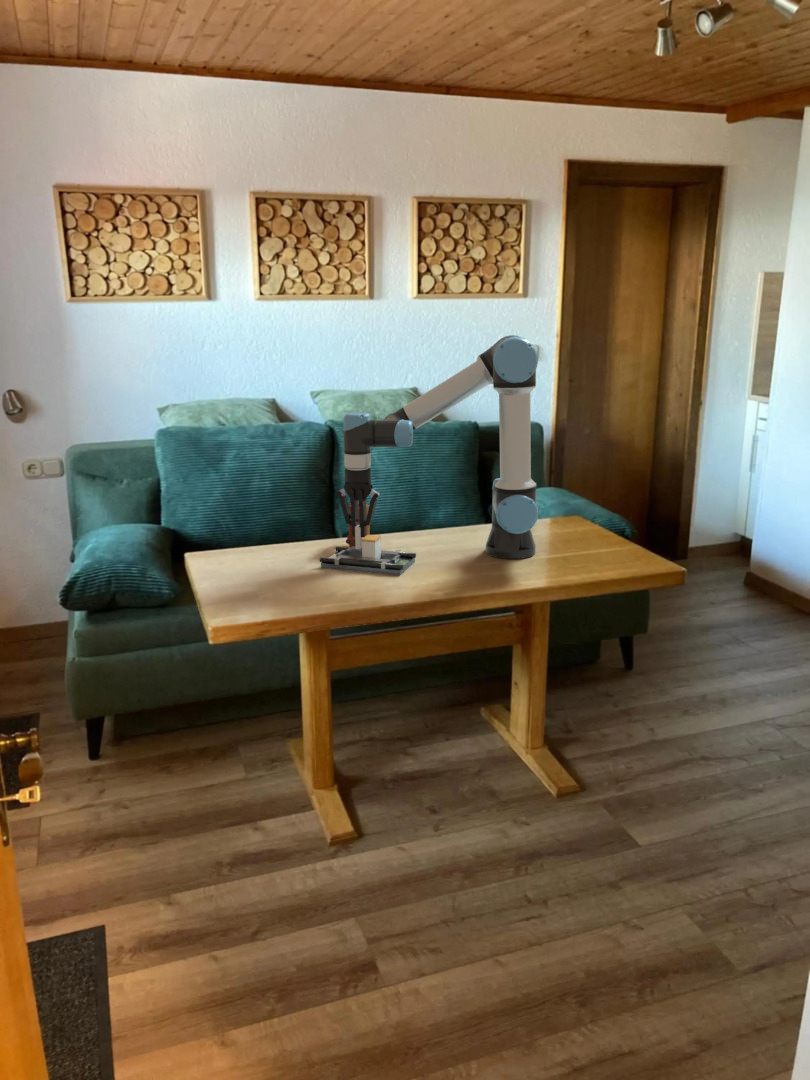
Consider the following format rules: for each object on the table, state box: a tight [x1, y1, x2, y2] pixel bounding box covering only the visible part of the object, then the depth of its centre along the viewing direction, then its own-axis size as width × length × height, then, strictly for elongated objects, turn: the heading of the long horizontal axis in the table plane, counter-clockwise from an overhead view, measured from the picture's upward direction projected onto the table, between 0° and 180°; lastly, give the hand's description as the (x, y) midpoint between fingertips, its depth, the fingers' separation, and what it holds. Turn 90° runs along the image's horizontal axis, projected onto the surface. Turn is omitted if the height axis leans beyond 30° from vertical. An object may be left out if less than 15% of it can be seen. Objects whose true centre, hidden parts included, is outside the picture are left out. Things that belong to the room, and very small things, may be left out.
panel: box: [319, 546, 417, 577], centre depth 249 cm, size 25×14×3 cm, turn 72°
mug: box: [345, 500, 372, 549], centre depth 266 cm, size 15×8×15 cm, turn 179°
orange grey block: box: [362, 534, 382, 559], centre depth 248 cm, size 4×5×7 cm
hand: (359, 547), depth 249 cm, fingers closed
